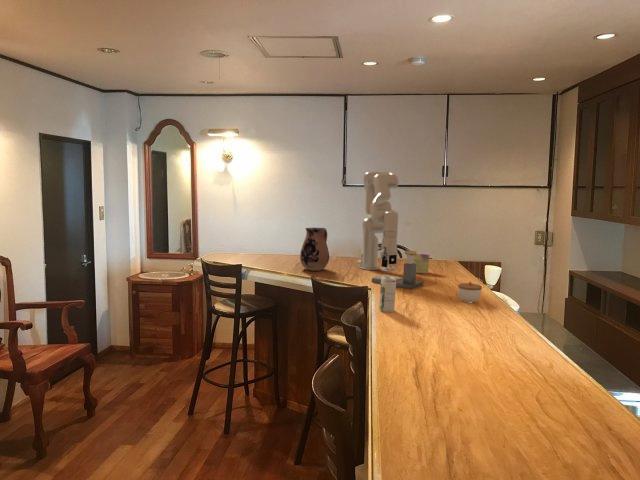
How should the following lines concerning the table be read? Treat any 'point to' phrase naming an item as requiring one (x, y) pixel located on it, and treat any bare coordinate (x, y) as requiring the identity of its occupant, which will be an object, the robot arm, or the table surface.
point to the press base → (404, 278)
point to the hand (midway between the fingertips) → (388, 265)
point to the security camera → (390, 262)
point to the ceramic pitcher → (315, 249)
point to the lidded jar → (469, 292)
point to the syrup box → (387, 294)
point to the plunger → (410, 256)
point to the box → (421, 262)
